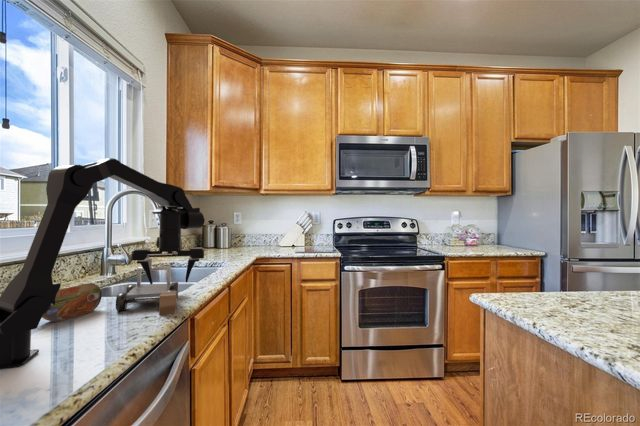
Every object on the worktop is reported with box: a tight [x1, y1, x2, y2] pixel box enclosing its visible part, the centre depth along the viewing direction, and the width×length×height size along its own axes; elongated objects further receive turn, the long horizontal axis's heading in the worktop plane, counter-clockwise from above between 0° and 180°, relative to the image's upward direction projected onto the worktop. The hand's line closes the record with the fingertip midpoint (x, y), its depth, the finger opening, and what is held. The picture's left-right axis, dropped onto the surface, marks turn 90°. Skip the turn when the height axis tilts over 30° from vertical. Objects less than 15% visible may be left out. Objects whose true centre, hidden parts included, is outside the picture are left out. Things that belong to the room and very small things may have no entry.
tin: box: [41, 282, 102, 323], centre depth 84 cm, size 15×3×8 cm, turn 164°
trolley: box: [115, 265, 179, 312], centre depth 98 cm, size 17×15×11 cm
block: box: [158, 291, 178, 316], centre depth 89 cm, size 5×4×6 cm
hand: (169, 283), depth 89 cm, fingers open, 9 cm apart
